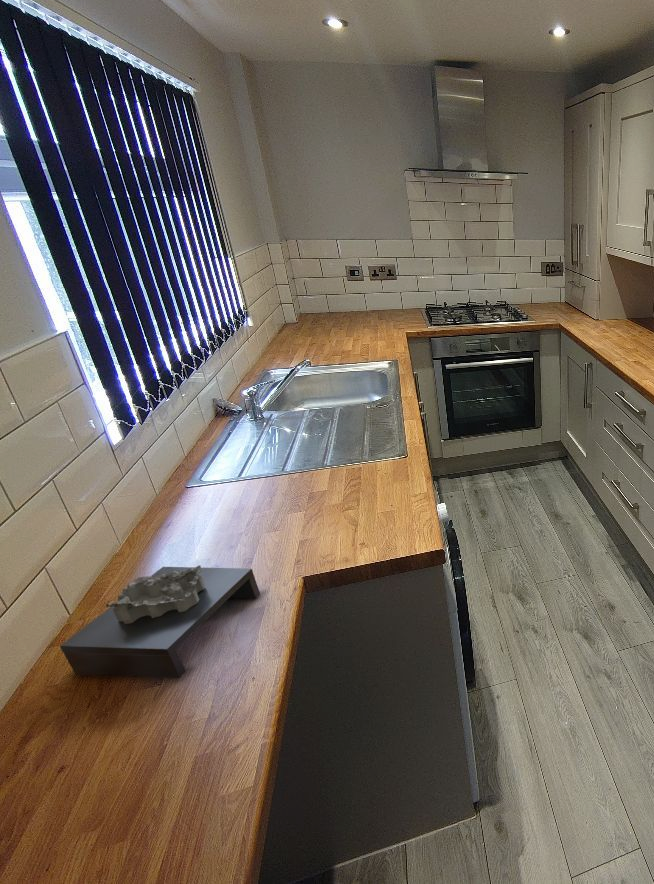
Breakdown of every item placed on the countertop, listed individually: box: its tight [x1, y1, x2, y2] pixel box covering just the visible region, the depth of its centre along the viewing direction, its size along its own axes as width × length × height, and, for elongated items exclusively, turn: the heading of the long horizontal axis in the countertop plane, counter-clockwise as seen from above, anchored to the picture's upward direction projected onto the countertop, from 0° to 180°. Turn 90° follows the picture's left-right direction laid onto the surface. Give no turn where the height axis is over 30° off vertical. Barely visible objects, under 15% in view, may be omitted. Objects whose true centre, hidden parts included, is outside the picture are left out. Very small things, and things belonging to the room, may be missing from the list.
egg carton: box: [105, 564, 205, 624], centre depth 81 cm, size 11×8×4 cm
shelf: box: [59, 566, 261, 679], centre depth 83 cm, size 16×18×6 cm
